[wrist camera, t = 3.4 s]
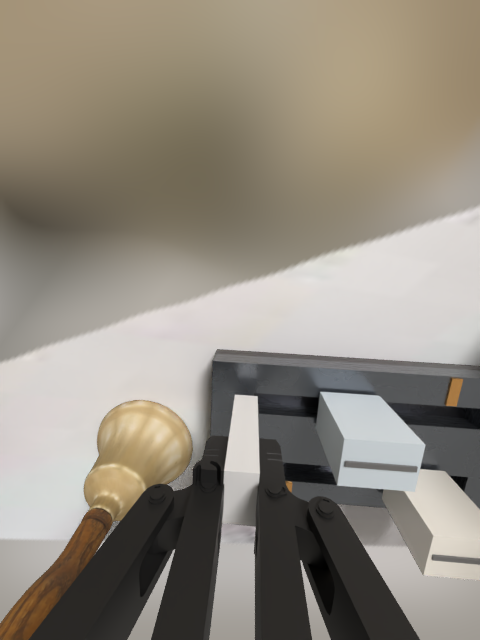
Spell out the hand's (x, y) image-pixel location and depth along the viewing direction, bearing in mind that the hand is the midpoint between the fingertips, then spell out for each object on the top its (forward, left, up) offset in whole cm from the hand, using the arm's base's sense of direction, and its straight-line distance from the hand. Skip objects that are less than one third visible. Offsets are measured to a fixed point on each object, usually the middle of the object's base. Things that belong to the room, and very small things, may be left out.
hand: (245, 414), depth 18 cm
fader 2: (+13, -5, -3) cm, 14 cm away
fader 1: (+7, 0, -3) cm, 7 cm away
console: (+9, -3, -4) cm, 10 cm away
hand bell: (-8, -6, -4) cm, 11 cm away
